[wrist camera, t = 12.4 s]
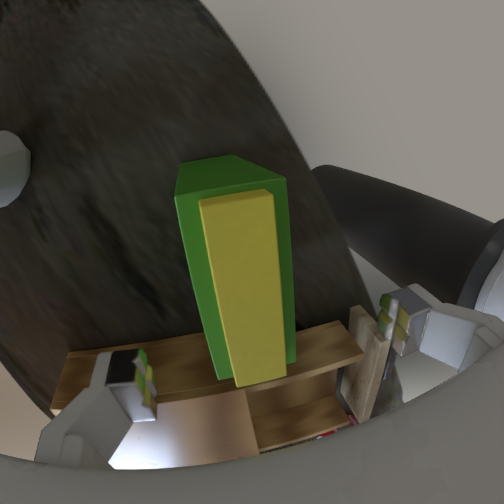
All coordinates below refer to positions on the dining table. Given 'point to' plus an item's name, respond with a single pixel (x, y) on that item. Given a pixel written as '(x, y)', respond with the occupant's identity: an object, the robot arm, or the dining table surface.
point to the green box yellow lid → (239, 264)
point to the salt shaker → (12, 167)
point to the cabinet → (174, 407)
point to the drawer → (322, 382)
